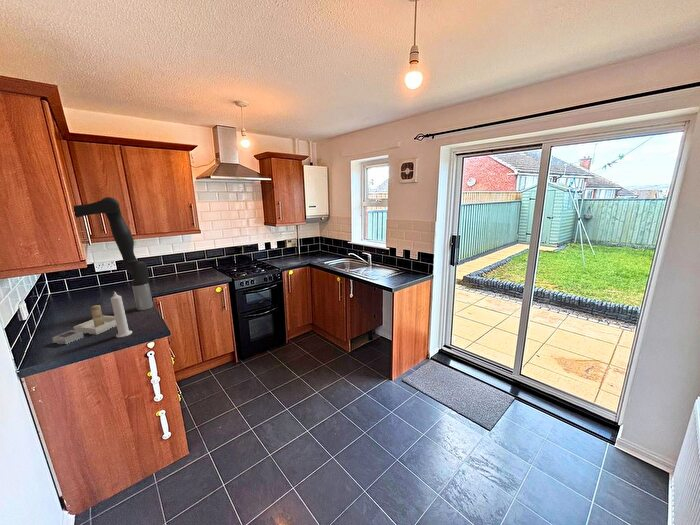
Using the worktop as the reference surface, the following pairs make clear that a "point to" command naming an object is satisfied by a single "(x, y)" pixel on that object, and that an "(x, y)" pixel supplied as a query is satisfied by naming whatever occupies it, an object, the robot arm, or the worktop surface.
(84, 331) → the tray
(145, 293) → the robot arm
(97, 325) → the peg
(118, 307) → the candle
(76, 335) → the collar
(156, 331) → the worktop surface
